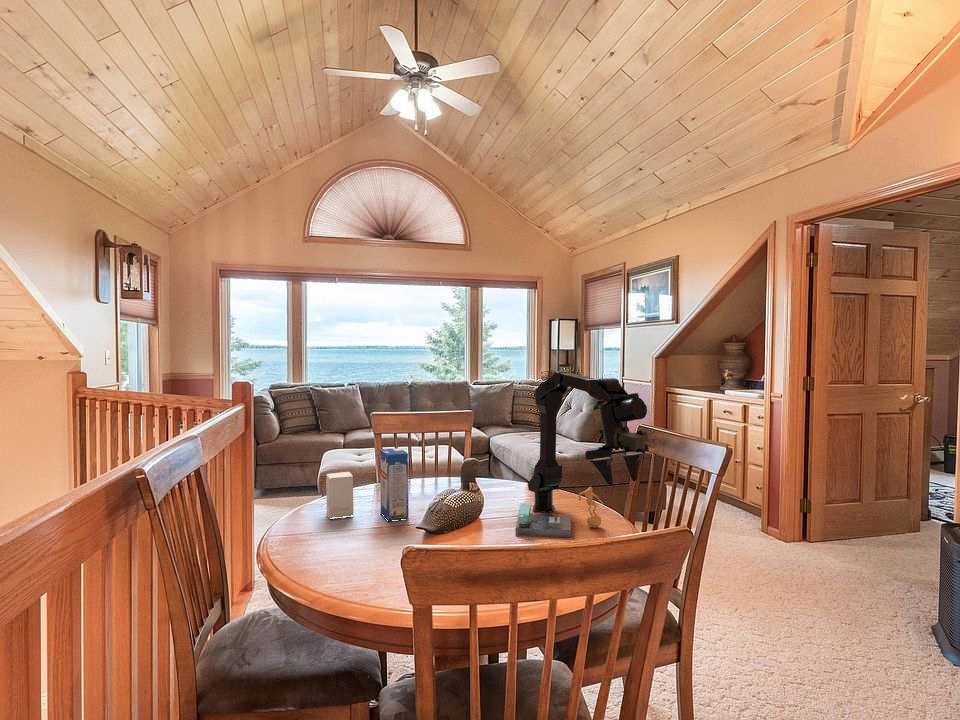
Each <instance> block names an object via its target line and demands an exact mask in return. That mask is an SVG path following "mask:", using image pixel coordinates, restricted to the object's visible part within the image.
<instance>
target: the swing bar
mask: <svg viewBox="0 0 960 720" xmlns="http://www.w3.org/2000/svg"><path fill="white" fill-rule="evenodd" d="M531 506H532V505H531V503H530V502H529V503H527V502H525V503H523V502H522V503H520V504H519V508H518V513H517V519H518V523H519V524H528V523H529V517H530V513H532V512H531V511H532V509H531Z"/></svg>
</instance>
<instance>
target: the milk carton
mask: <svg viewBox="0 0 960 720" xmlns="http://www.w3.org/2000/svg"><path fill="white" fill-rule="evenodd" d="M379 459H380V460H379V465H380V466H379V468H380V469H379V471H380V472H379V475H380V476H379V479H380V481H379V482H380V484H379V485H380V488H379V490H380V495H379V497H380V500H379V501H380V514H381V513H382V514H383V515H384V517H385V518H386V519H387V520H388V521H392V520H401V519H409V453H408V452H406V451H405V450H403V449H402V448H400V447H397V448H383V449H379ZM382 514H381V515H382ZM384 517H383V518H384ZM385 518H384V519H385ZM386 519H385V520H386Z"/></svg>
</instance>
